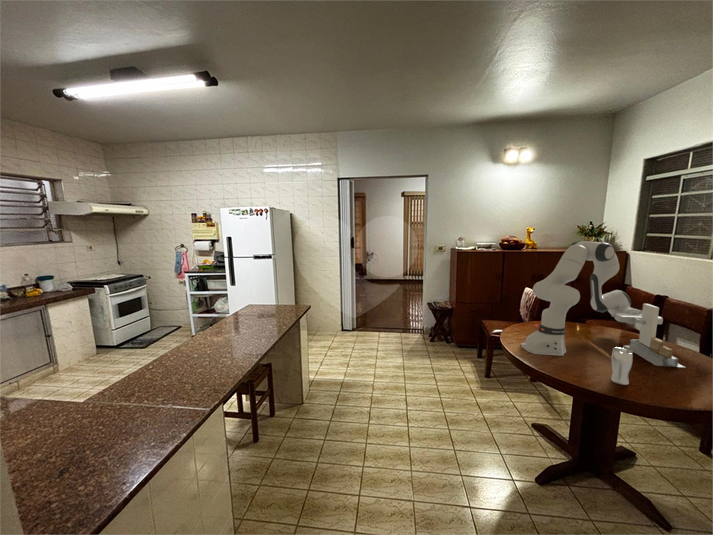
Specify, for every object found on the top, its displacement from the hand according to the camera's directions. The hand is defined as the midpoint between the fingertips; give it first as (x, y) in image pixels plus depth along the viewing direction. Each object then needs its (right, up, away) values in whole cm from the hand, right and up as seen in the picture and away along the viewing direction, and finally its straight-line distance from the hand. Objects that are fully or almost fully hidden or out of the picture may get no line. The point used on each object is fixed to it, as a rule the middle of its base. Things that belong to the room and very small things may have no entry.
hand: (648, 323), depth 154 cm
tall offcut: (-1, -17, -5) cm, 18 cm away
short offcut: (-2, -18, -10) cm, 21 cm away
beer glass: (-37, -22, -24) cm, 49 cm away
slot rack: (0, -18, -2) cm, 18 cm away
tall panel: (0, -12, +1) cm, 12 cm away
